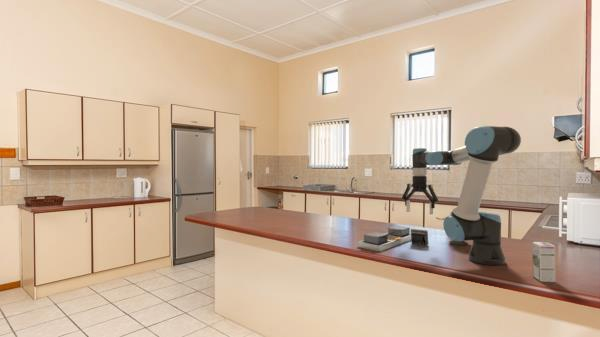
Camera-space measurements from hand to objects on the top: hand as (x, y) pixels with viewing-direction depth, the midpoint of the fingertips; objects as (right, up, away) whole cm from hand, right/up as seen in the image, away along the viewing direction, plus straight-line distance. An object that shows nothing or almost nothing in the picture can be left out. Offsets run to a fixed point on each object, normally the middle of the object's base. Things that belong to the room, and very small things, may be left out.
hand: (419, 212), depth 187 cm
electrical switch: (0, -19, 0) cm, 19 cm away
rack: (-16, -18, +7) cm, 25 cm away
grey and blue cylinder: (+24, -18, +4) cm, 31 cm away
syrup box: (+30, -19, -55) cm, 65 cm away
